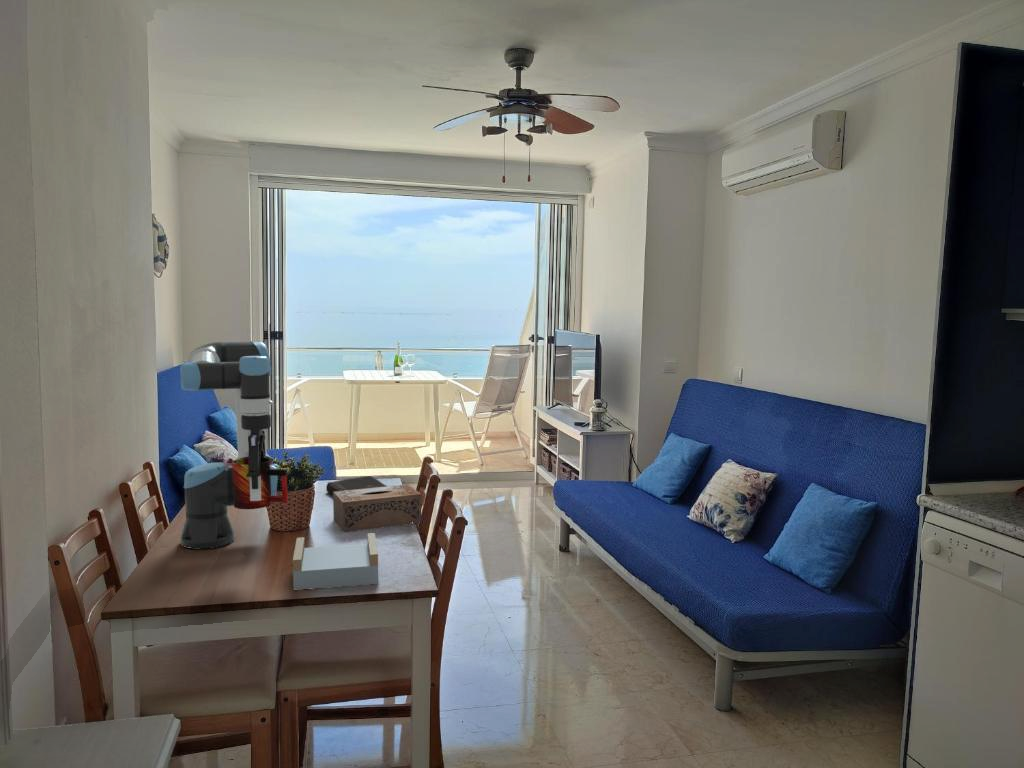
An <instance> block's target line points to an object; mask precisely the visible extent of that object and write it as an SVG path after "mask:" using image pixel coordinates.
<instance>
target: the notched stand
mask: <svg viewBox="0 0 1024 768" xmlns="http://www.w3.org/2000/svg"><path fill="white" fill-rule="evenodd" d="M305 540H306V539H305V537H296V541H295V546H294V551H293V557H292V574H293V575H292V578H293V579H292V581H293V582H292V583H293V585H292V586H293V590H294V589H309V588H324V589H328V588H327V587H337V588H343V587H342V586H349V587H358V586H357V585H362V586H371V585H370V584H375V585H379V553H378V545H377V540H376V533H375V532H370V533H368V532H367V543H360V544H346V545H344V544H343V545H329V546H316V547H315V546H313V547H311V546H310V547H305V545H306V544H305Z"/></svg>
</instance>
